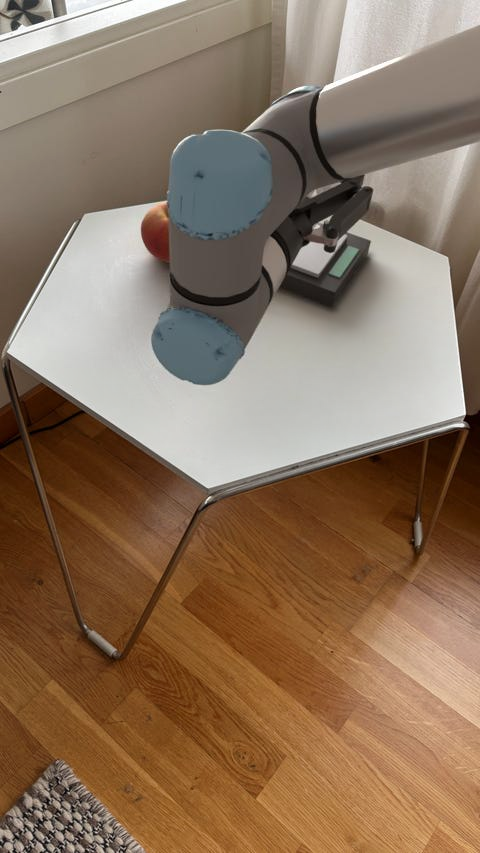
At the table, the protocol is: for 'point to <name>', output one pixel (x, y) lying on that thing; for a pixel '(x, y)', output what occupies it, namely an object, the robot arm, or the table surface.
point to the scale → (326, 268)
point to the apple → (157, 232)
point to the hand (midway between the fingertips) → (319, 148)
